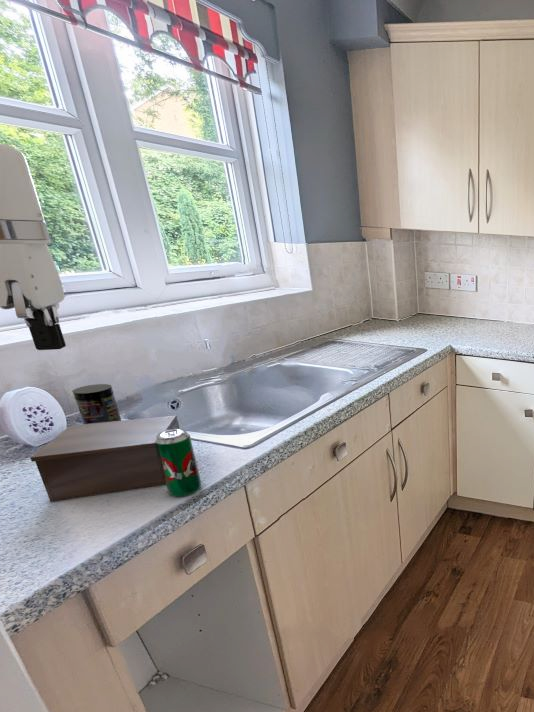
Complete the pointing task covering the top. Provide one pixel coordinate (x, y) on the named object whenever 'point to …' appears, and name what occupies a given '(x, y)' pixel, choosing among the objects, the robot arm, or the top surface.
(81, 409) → the supplement container
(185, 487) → the soda can
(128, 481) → the chest
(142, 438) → the lid
